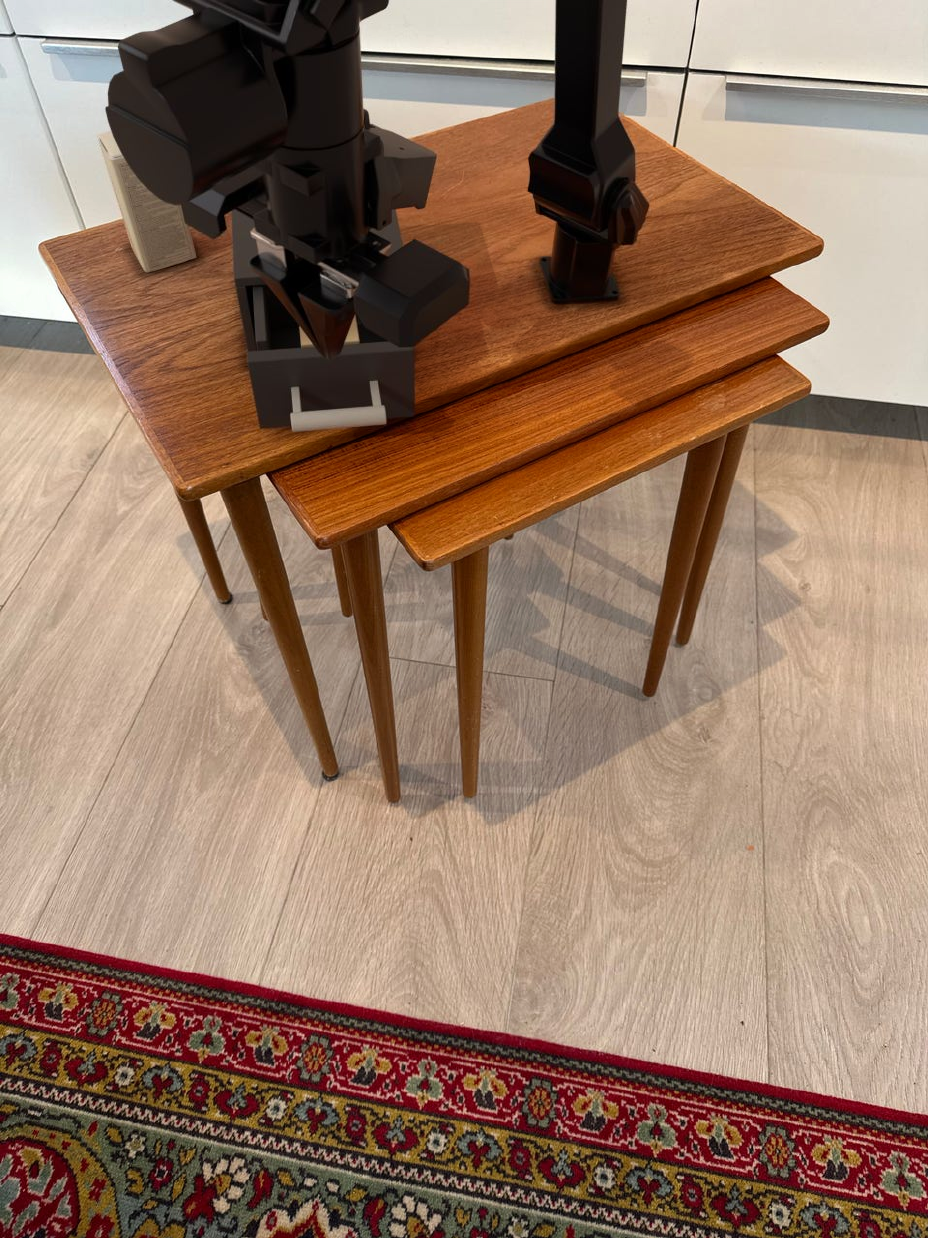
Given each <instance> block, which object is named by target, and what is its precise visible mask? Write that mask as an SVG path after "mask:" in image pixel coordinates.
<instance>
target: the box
mask: <svg viewBox="0 0 928 1238" xmlns="http://www.w3.org/2000/svg"><path fill="white" fill-rule="evenodd" d="M96 138H97V141H98V144H99V147H100V150H101V154H102V157H103V160H104V164H105V166H106V170H107V173H108V176H109V179H110V183H111V185H112V188H113V189H112V190H113V192H114V195H115V198H116V202H117V204H118V207H119V208H118V209H119V211H120V214H121V217H122V221H123V224H124V227H125V230H126V233H127V237H128V240H129V243H130V246H131V250H132V251H133V253H134V255H135V257H136V258H137V261H138V262H139V264H140V266H141V267H142V269H143V271H144V272H145V273H151V272H155V271H159V270H162V269H166V268H169V267H172V266H174V265H179V264H182V263H185V262H188V261H190V260H193V259H196V258H197V253H196V248H195V244H194V241H193V240H194V239H193V236H192V233H191V229H190V226H189V225H187V224H185V222H184V217H183V213H182V208H181V205H176V206H175V205H172V204H168V203H166V202H164V201H162V200H160V199H159V198H158V197H156V196H155V195H154V194H153V193H151V192H150V191H149V190H148V189H147V188H146V187H145V186H144V185H143V183H142V182H141V181H140V180H139V179H138V178H137V176H136V175H135V174H134V172H133V171H132V170H131V168H130V167H129V165H128V164H127V162H126V160H125V159H124V157H123V155H122V154H121V152H120V150H119V148H118V146H117V143H116V141H115V139H114V137H113V134H112V131H111V130H109V131H105V132H101V133H98V134H97V135H96Z"/></svg>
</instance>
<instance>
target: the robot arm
mask: <svg viewBox="0 0 928 1238" xmlns="http://www.w3.org/2000/svg"><path fill="white" fill-rule="evenodd" d="M172 2H174V3H176V4H178V5H180V6H182V7H185V8H187V9H189V10H191V11H192V14H191V15H188V16H187V17H184V18H182V19H179V20H177V21H174V22H173V23H170V24H168V25H166V26H163V27H161V28H158V29H155V30H146V31H145V30H144V31H139V32H137V33H134V34H132V35H129V36H127V37H124V38H122V39H120V40H119V42H118V45H117V50H118V55H119V59H120V63H121V66H122V71H120V72H117V73H115V74H113V76H112V78H111V79H110V80H109V83H108V88H107V104H108V105H106V106H105V109H104V110H105V111H104V112H105V115H106V120H107V123H108V126H109V128H110V131H112V134H113V137H114V139H115V141H116V143H117V146H118V148H119V150H120V152H121V154H122V155H123V157H124V159H125V160H126V162H127V164H128V165H129V167H130V168H131V170H132V171H133V172H134V174H135V175H136V176H137V178H138V179H139V180H140V181H141V182H142V183H143V185H144V186H145V187H146V188H147V189H148V190H149V191H150V192H151V193H153V194H154V195H155V196H156V197H158V198H159V199H160V200H162V201H164V202H166V203H168V204H172V205H175V206H176V205H181V208H182V213H183V217H184V222H185V224H187V225H189V228H192V229H194V230H196V231H197V232H199V233H200V234H202V235H204V236H206V237H207V238H210V239H211V240H212V241H214V240H215V239H217V238H220V236H222V235H223V234H224V233H225V232H226V231H227V230H228V226H227V220H226V216H225V215H227V214H229V213H231V211H232V210H236V211H238V212H240V213H242V214H243V215H245V216H247V217H249V218H250V219H252V220H254V225H255V227H254V228H252V229H251V230H250V233H251V237H252V238H254V239H256V242H257V248H258V255H256V256H255V257H253V258H252V259H251V260H250V266H251V269H252V270H253V271H254V272H255V273H257V274H258V275H259V276H260V277H261V278H262V279H263V280H264V281H265V283H266V284H267V285H268V286H269V288H270V289H271V290H272V291H273V293H274V294H275V295H276V296H277V297H278V299H279V300H280V301H281V302H282V304H283V305H284V306H285V307H286V309H287V310H288V311H289V313H290V314H291V315H292V317H293V318H294V319H295V320H296V322H297V323H298V325H299V326H300V327H301V329H302V330H303V331H304V333H305V334H306V335H307V337H308V338H309V340H310V341H311V342H312V344H313V345H314V346H315V348H316V349H317V350H318V352H319V353H320V355H321V356H323V357H325V358H326V359H328V360H330V361H331V360H333V359H334V358H336V357H337V356H338V355H339V354H340V353H341V351H342V348H343V346H344V343H345V340H346V337H347V335H348V332H349V329H350V327H351V324H352V321H353V319H354V316H355V313H356V314H357V315H358V317H359V319H360V320H361V322H362V323H363V325H364V326H365V328H366V329H368V330H370V331H372V332H373V333H375V334H377V335H379V336H380V337H382V338H384V339H385V340H387V341H389V342H391V343H392V344H394V345H396V346H398V347H399V348H400V347H414V348H415V346H417V345H418V344H419V343H421V342H422V341H424V340H425V339H426V338H428V336H430V335H431V334H432V333H434V332H435V331H436V330H437V329H439V328H440V327H441V326H443V325H444V324H445V323H447V322H448V321H449V320H451V319H452V318H454V317H455V316H456V315H457V314H459V313H460V312H462V310H464V309H466V307H467V306H469V304H470V291H471V290H470V289H471V277H470V269H469V268H468V267H466V266H465V265H464V264H462V263H461V262H460V261H458V260H456V259H454V258H452V257H451V256H449V255H446V254H444V253H443V252H440V251H439V250H438V249H435V248H433V247H432V246H429V245H427V244H426V243H424V242H422V241H420V240H418V239H416V238H413V239H412V240H410V241H409V242H407V243H406V244H403V247H401V248H400V249H398V250H397V251H396V252H394V253H393V254H391V255H390V256H387V252H388V251H389V250H390V249H391V242H389V241H388V240H386V239H384V238H382V237H380V236H378V235H376V234H374V233H373V232H371V231H369V230H371V229H372V228H374V229H376V230H377V231H380V230H381V229H383V228H384V227H386V226H387V225H389V224H391V223H392V209H396V210H400V209H407V208H409V209H410V208H414V209H416V210H423V209H425V208H426V206H427V203H428V202H427V201H428V197H429V193H430V188H431V183H432V179H433V175H434V171H435V166H436V162H437V158H438V155H437V152H435V151H433V150H432V149H429V148H427V147H425V146H423V145H422V144H419V143H417V142H415V141H413V140H411V139H409V138H407V137H404V136H402V135H400V134H398V133H396V132H394V131H392V130H388V129H385V128H382V127H381V126H378V125H376V124H373V123H371V120H370V113H369V111H368V109H365V108H364V95H363V94H364V93H363V92H364V91H363V72H362V71H363V70H362V67H363V66H362V47H361V46H362V44H361V43H362V42H361V27H360V24H361V22H362V21H364V20H366V19H369V18H370V17H372V16H374V15H377V14H378V13H380V12H382V11H384V10H386V9H387V8H388V6H389V3H390V0H172ZM554 4H555V5H554V17H555V18H554V91H553V93H554V95H553V98H554V99H553V100H554V101H553V102H554V105H553V108H554V109H553V123H552V125H551V126H550V128H549V129H548V130H547V132H546V133H545V134H544V136H543V137H542V138H541V140H540V142H539V143H538V144H537V146H536V147H535V148H534V149H533V150H531V152H530V153H529V155H528V157H527V162H528V168H529V178H528V179H529V181H528V185H527V190H526V192H527V193H529V194H532V199H533V203H534V211H535V214H537V215H539V216H543V217H545V218H547V219H549V220H552V221H553V222H555V227H554V234H553V241H552V248H551V256H541V257H540V258H539V259H538V265H539V268H540V272H541V274H542V277H543V281H544V284H545V286H546V289H547V293H548V295H549V298H550V301H551V303H553V304H556V305H559V304H574V303H588V302H590V303H591V302H602V301H603V302H605V301H615V300H616V301H617V300H619V299H620V295H621V292H620V289H619V286H618V284H617V281H616V279H615V277H614V274H613V271H612V270H613V264H614V259H615V255H616V250H617V249H619V248H620V247H621V246H634V244H636V242H637V240H638V235H639V232H640V231H641V230H642V229H643V226H644V224H645V223H646V219H647V214H648V212H649V209H650V207H651V205H650V203H649V201H648V199H647V198H646V196H645V195H644V194H643V192H642V191H641V189H640V188H639V186H638V185H637V183H636V180H637V179H636V177H637V176H636V174H637V173H636V171H637V170H636V169H637V168H636V165H637V164H636V149H635V146H634V144H633V142H632V140H631V137H630V136H629V133H628V132H627V130H626V128H625V126H624V124H623V122H622V120H621V118H620V116H619V114H620V113H619V112H620V111H619V110H620V99H621V98H620V97H621V83H622V71H623V59H624V49H625V48H624V46H625V36H626V35H625V34H626V21H627V8H628V7H627V6H628V0H554Z"/></svg>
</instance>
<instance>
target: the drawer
mask: <svg viewBox="0 0 928 1238" xmlns="http://www.w3.org/2000/svg"><path fill="white" fill-rule="evenodd" d="M253 300H254V317H255V335H256V345H257V350H258V351H250V352H248V351H247V352H246V365H247V369H248V375H249V381H250V384H251V390H252V395H253V399H254V400H253V401H254V406H255V409H256V415H257V420H258V425H259V429H260V430H265V429H267V430H268V429H279V428H290V427H291V431H292V432H293V433H300V432H311V431H321V430H322V431H323V430H324V431H325V430H334V429H335V430H337V429H346V428H358V427H360V428H361V427H369V426H381V425H387V419H388V420H389V419H398V418H410V417H412V418H413V417H415V416H416V374H415V373H416V365H415V364H416V362H415V361H416V350H415V346H414V347H400V348H399V347H398V346H396V345H394V344H392V343H391V342H389V341H387V340H385V339H384V338H382V337H380V336H379V335H377V334H375V333H373V332H372V331H370V330H368V329H366V328H365V326H364V325H363V323H362V322H361V320H360V319H359V317H358V315H357V314H356V313H355V314H356V320H357V327H358V334H359V340H360V344H347V345H344V346H343V348H342V351H341V353H340V354H339V355H338V356H337V357H336V358H334V359H333V360H331V361H330V360H328V359H326V358H325V357H323V356H321V355H320V353H319V352H318V350H317V349H316V348H315V347H305V348H301V340H300V330H299V325H298V323H297V322H296V320H295V319H294V318H293V317H292V315H291V314H290V313H289V311H288V310H287V309H286V307H285V306H284V305H283V304H282V302H281V301H280V300H279V299H278V297H277V296H276V295H275V294H274V293H273V291H272V290H271V289H270V288H269V286H268V285H253Z"/></svg>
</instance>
